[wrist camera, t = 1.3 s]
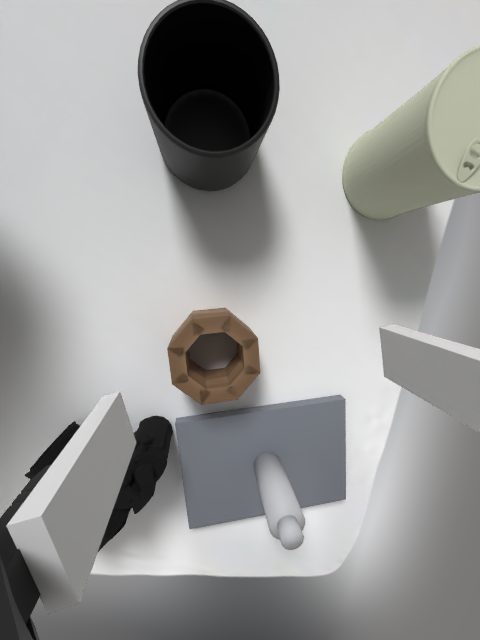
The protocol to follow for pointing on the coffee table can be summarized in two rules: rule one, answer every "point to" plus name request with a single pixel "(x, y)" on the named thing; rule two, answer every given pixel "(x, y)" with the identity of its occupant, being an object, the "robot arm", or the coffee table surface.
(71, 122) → the coffee table surface
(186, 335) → the collar
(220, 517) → the post board
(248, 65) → the mug
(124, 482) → the film camera
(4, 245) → the coffee table surface
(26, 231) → the coffee table surface
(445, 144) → the can
